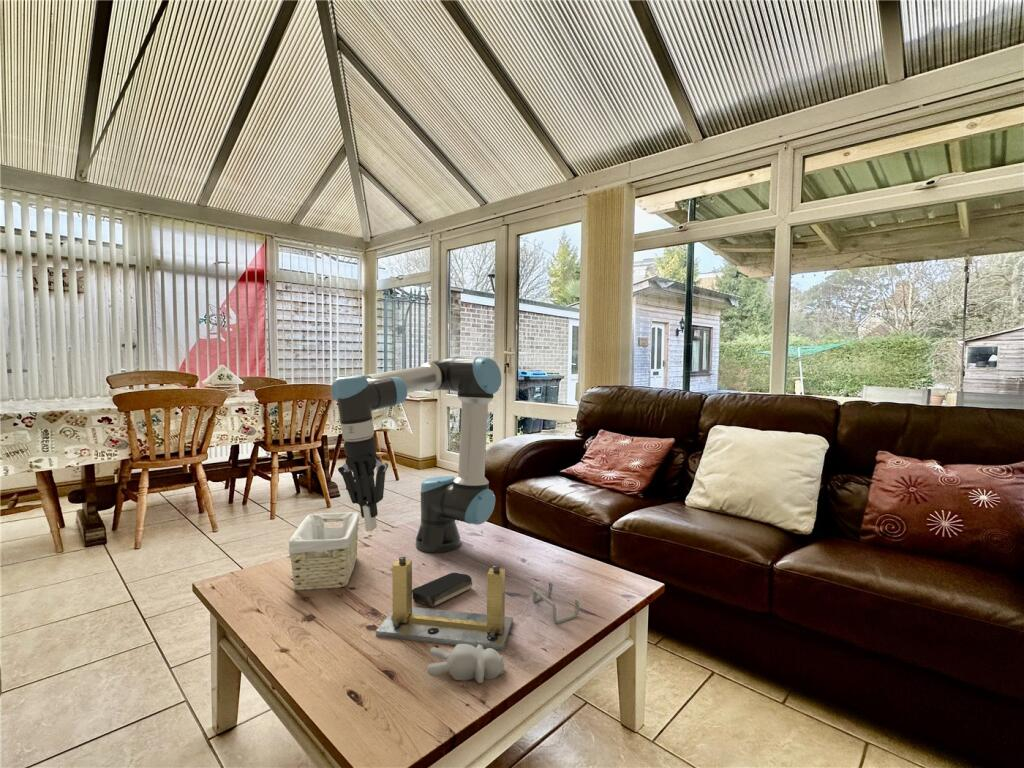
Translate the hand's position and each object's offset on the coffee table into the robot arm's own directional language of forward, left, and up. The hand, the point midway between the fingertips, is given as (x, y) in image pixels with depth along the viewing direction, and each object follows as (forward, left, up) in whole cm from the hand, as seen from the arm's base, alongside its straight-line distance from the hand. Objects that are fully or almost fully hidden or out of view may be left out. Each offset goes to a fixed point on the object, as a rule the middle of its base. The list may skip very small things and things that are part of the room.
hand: (371, 529), depth 124 cm
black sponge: (-11, +15, -21) cm, 28 cm away
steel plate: (+5, +21, -21) cm, 30 cm away
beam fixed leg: (+6, +22, -20) cm, 30 cm away
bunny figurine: (+20, +30, -21) cm, 42 cm away
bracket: (-9, +46, -21) cm, 51 cm away
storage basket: (-17, -23, -21) cm, 35 cm away
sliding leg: (+6, +10, -19) cm, 23 cm away
